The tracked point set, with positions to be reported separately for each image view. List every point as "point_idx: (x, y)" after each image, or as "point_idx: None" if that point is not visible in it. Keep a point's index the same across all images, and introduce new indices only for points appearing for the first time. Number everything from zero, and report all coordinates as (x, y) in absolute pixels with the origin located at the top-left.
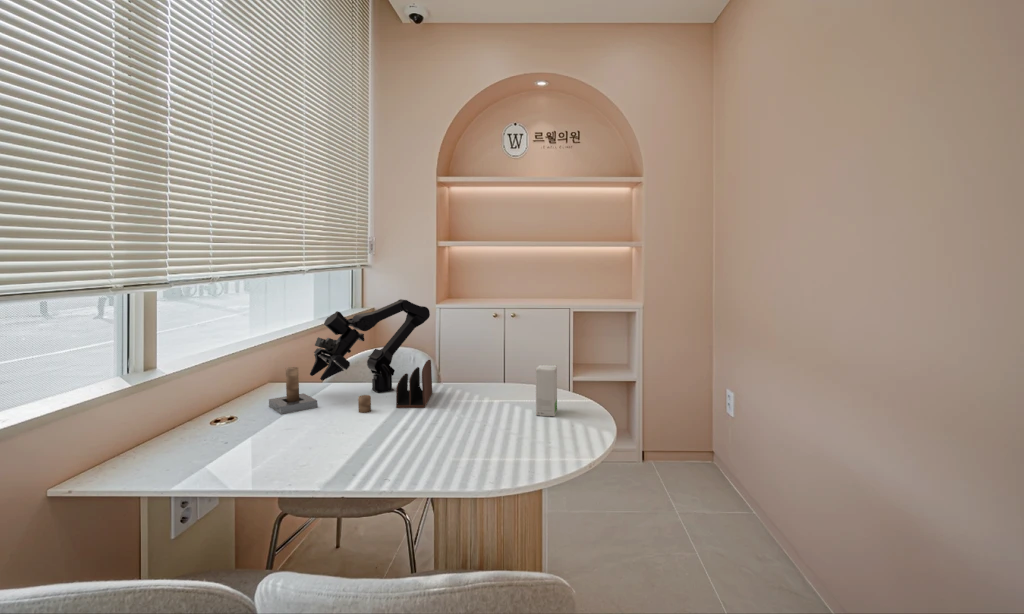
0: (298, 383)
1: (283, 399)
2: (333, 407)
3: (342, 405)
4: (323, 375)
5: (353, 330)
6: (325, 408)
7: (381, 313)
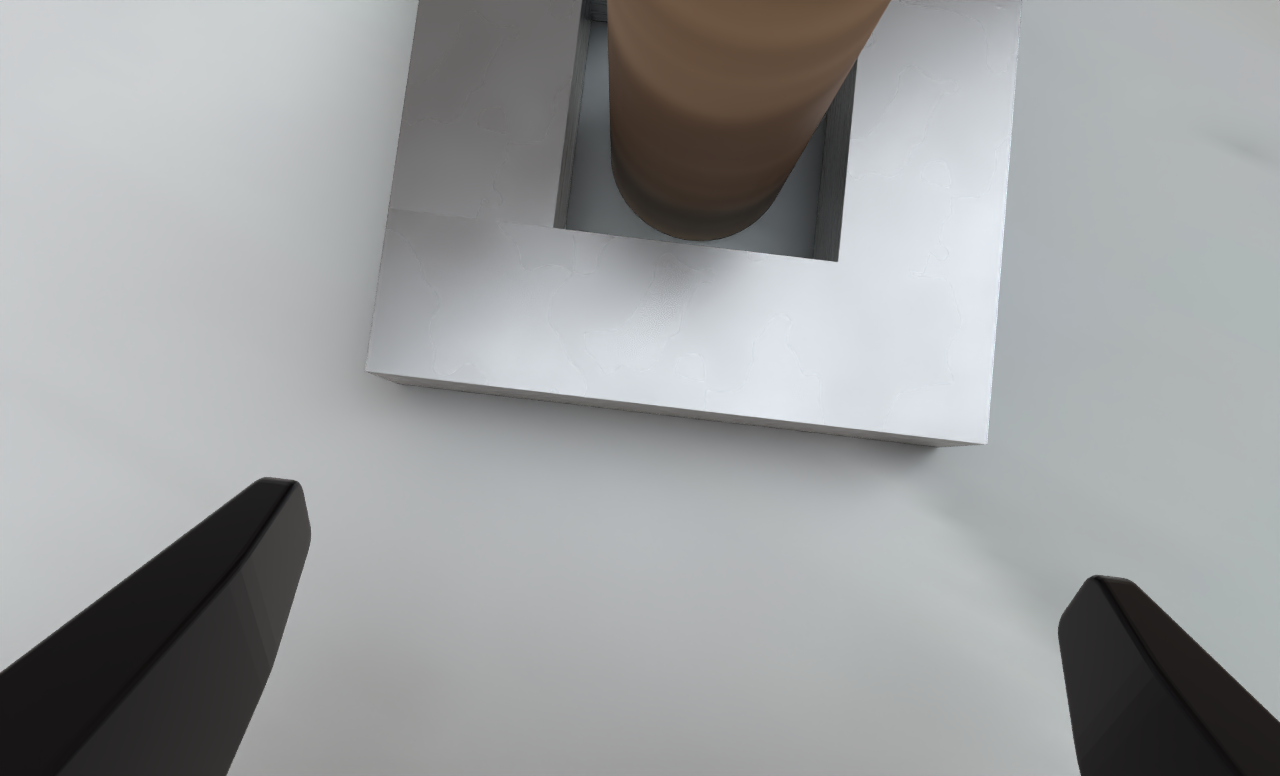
0: (654, 37)
1: None
2: None
3: None
4: (151, 568)
5: None
6: (255, 440)
7: None
